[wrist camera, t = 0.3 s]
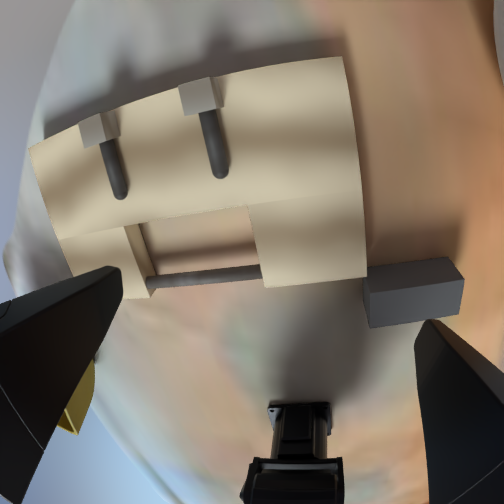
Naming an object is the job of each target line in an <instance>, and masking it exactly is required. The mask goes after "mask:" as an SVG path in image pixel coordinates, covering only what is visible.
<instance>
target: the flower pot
mask: <svg viewBox="0 0 504 504" xmlns="http://www.w3.org/2000/svg"><path fill="white" fill-rule="evenodd" d="M94 383H95V366H94V361H93V359H92V361H91V362H90V364H89V366H88V368H87V369H86V371H85V373H84V375H83V377H82V378H81V380H80V382H79V384H78V386H77V388H76V389H75V391H74V393H73V395H72V397H71V399H70V401H69V403H68V405H67V406H66V408H65V410H64V412H63V414H62V416H61V418H60V420H59V422H58V424H57V426H58V427H60V428H62V429H64V430H66V431H68V432H70V433H72V434H75V435H78V433H79V431H80V428H81V426H82V423H83V421H84V418H85V416H86V413H87V411H88V408H89V406H90V403H91V400H92V397H93V392H94Z"/></svg>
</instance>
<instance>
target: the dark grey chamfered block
mask: <svg viewBox="0 0 504 504" xmlns="http://www.w3.org/2000/svg"><path fill="white" fill-rule="evenodd" d="M464 280H465V279H464V278H463V276H462V275H461V274H460V272H459V271H458V269H457V268H456V267H455V265H454V264H453V263H452V262H451V260H450V259H449V258H448V257H442V258H435V259H427V260H420V261H413V262H405V263H397V264H390V265H382V266H374V267H367V277H363V302H364V306H365V310H366V314H367V319H368V323H369V327H370V328H377V327H384V326H391V325H398V324H405V323H411V322H417V321H423V320H427V319H435V318H441V317H446V316H451V315H457V314H459V310H460V304H461V299H462V293H463V287H464Z"/></svg>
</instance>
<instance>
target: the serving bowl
mask: <svg viewBox="0 0 504 504" xmlns="http://www.w3.org/2000/svg"><path fill="white" fill-rule="evenodd" d="M493 14H494V36H495V44H496V52H497V58H498V63H499V68H500V73H501V77H502V82H503V85H504V0H494V12H493Z"/></svg>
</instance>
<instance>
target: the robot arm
mask: <svg viewBox="0 0 504 504" xmlns="http://www.w3.org/2000/svg"><path fill="white" fill-rule="evenodd" d="M122 298H123V282H122V273H121V270H120V268H118V267H114V266H109V265H107V266H104V267H101V268H98V269H95V270H92V271H89V272H86V273H84V274H81V275H78V276H75V277H72V278H69V279H67V280H64V281H61V282H58V283H55V284H53V285H50V286H47V287H44V288H42V289H39V290H36V291H33V292H31V293H28V294H25V295H23V296H20V297H17V298H15V299H13V300H12V301H11V300H9V301H6V302H4V303H1V304H0V496H1V497H3V498H4V499H6V500H7V501H9V502H10V503H11V504H21V503H22V501H23V498H24V496H25V494H26V491H27V489H28V487H29V484H30V482H31V480H32V477H33V475H34V473H35V471H36V469H37V466H38V464H39V462H40V460H41V458H42V455H43V453H44V450H45V449H46V447H47V444H48V442H49V440H50V438H51V436H52V434H53V432H54V430H55V428H56V426H57V424H58V422H59V420H60V418H61V416H62V414H63V412H64V410H65V408H66V406H67V405H68V403H69V401H70V399H71V397H72V395H73V393H74V391H75V389H76V388H77V386H78V384H79V382H80V380H81V378H82V377H83V375H84V373H85V371H86V369H87V368H88V366H89V364H90V362H91V361H92V359H93V357H94V355H95V354H96V352H97V350H98V348H99V347H100V345H101V343H102V341H103V339H104V338H105V335H106V333H107V331H108V329H109V327H110V325H111V322H112V320H113V318H114V316H115V314H116V311H117V309H118V307H119V305H120V303H121V301H122ZM414 353H415V364H416V377H417V390H418V397H419V403H420V410H421V417H422V424H423V432H424V440H425V449H426V459H427V471H428V485H429V504H504V373H503V372H502V371H500V370H499V369H498V368H497V367H496V366H495V365H493V364H492V363H491V362H490V361H489V360H488V359H486V358H485V357H484V356H483V355H482V354H480V353H479V352H478V351H477V350H476V349H474V348H473V347H472V346H471V345H469V344H468V343H467V342H466V341H465V340H463V339H462V338H461V337H460V336H458V335H457V334H456V333H455V332H453V331H452V330H451V329H450V328H448V327H447V326H446V325H445V324H443V323H442V322H441V321H439V320H435V319H427V320H426V321H425V322H424V323H423V325H422V328H421V330H420V332H419V334H418V336H417V338H416V340H415V343H414ZM267 411H268V415H269V418H270V421H271V424H272V428H273V431H274V433H273V441H272V449H271V457H270V459H269V458H260V457H254V459H253V463H251V464H249V470H248V475H247V479H246V481H245V483H244V485H243V488H242V490H241V492H240V498H241V499H242V501H243V502H244V504H344V493H345V491H344V473H343V461H342V457H337V458H327V436H329V435H331V416H330V403H328V402H321V403H308V404H291V405H270V406H268V410H267Z"/></svg>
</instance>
